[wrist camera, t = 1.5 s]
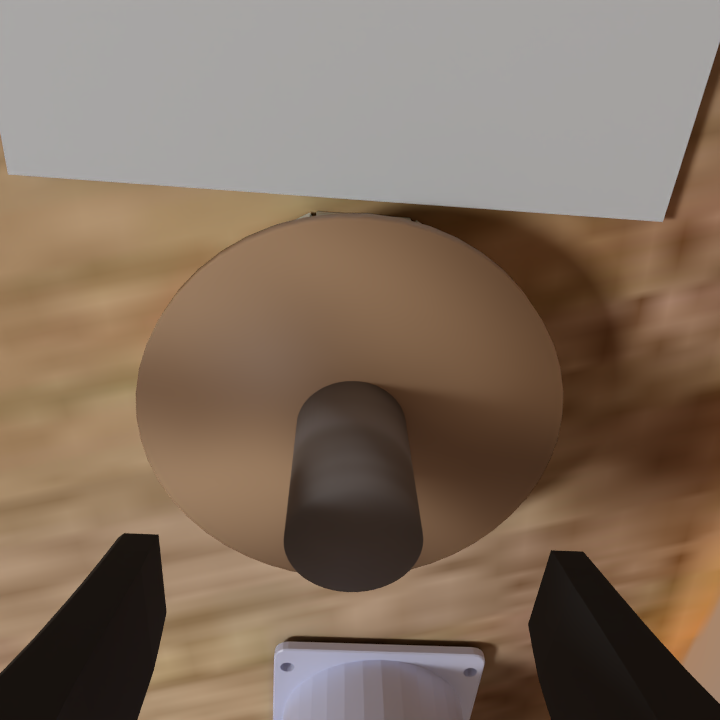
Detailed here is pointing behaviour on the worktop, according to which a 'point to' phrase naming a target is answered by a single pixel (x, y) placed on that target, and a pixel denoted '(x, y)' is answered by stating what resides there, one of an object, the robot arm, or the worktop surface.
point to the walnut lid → (349, 397)
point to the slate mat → (363, 98)
